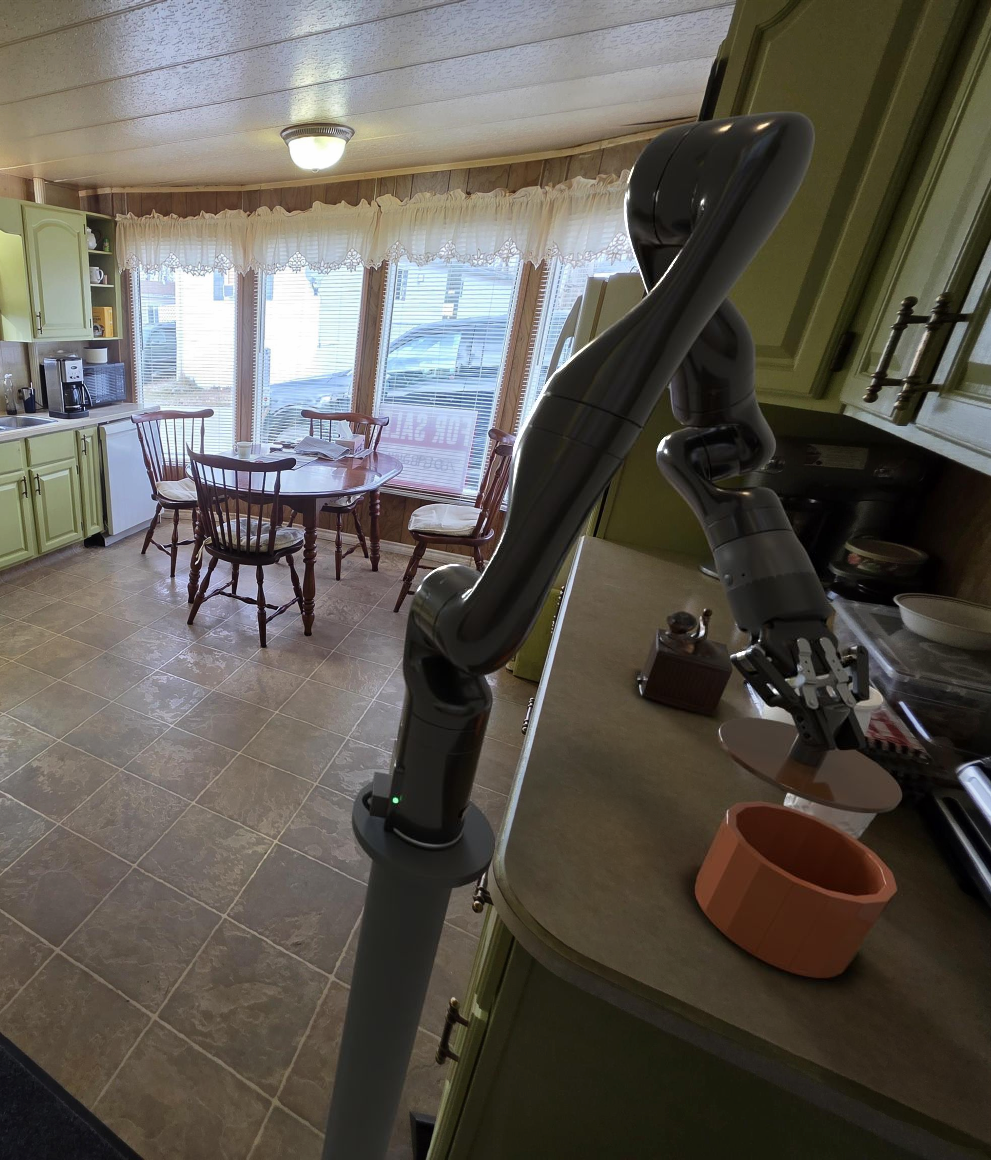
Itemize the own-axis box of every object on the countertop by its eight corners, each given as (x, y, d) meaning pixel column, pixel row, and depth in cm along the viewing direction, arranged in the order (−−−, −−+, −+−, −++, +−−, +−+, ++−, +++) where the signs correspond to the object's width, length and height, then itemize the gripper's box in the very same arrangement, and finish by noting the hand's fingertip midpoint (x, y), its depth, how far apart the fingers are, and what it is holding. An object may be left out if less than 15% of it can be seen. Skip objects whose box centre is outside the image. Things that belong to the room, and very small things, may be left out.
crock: (726, 957, 62) (765, 882, 58) (676, 859, 73) (705, 790, 69) (880, 994, 59) (933, 918, 55) (803, 886, 70) (842, 816, 66)
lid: (755, 800, 57) (788, 733, 54) (692, 716, 70) (716, 658, 67) (937, 833, 54) (982, 764, 51) (837, 739, 66) (869, 679, 63)
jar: (840, 807, 82) (892, 714, 76) (743, 774, 88) (784, 685, 82) (829, 766, 90) (875, 679, 84) (741, 738, 96) (778, 655, 90)
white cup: (857, 837, 77) (893, 775, 73) (851, 871, 72) (890, 806, 68) (776, 803, 82) (806, 743, 78) (766, 832, 77) (797, 770, 74)
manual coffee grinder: (636, 670, 114) (666, 582, 107) (709, 689, 108) (746, 597, 101) (634, 710, 102) (669, 613, 95) (717, 734, 96) (759, 633, 89)
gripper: (740, 569, 61) (812, 749, 54) (863, 568, 62) (948, 742, 56) (680, 596, 67) (737, 757, 61) (792, 593, 69) (860, 751, 63)
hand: (837, 749), depth 58 cm, fingers closed on lid, 2 cm apart
